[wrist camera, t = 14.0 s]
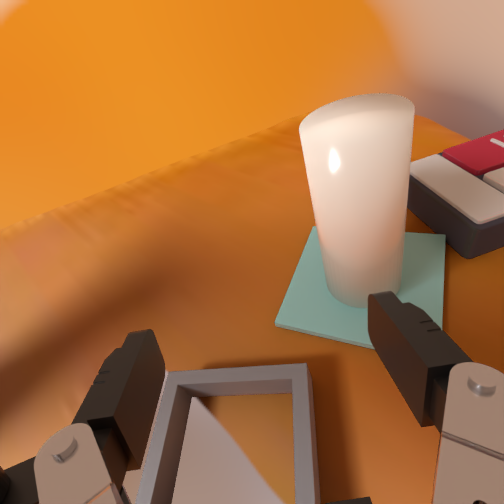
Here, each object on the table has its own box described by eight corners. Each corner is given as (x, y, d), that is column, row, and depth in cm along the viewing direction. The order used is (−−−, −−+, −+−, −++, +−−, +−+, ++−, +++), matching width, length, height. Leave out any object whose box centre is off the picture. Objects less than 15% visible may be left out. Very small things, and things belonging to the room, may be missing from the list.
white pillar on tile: (410, 304, 23) (431, 126, 14) (329, 311, 25) (300, 154, 16) (385, 233, 29) (389, 73, 20) (321, 242, 31) (297, 98, 21)
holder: (327, 589, 15) (320, 593, 13) (143, 568, 18) (117, 569, 16) (311, 378, 22) (306, 363, 21) (183, 384, 25) (168, 371, 23)
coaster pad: (276, 326, 26) (274, 322, 26) (314, 230, 33) (313, 226, 33) (439, 364, 20) (440, 360, 20) (444, 239, 27) (445, 234, 27)
